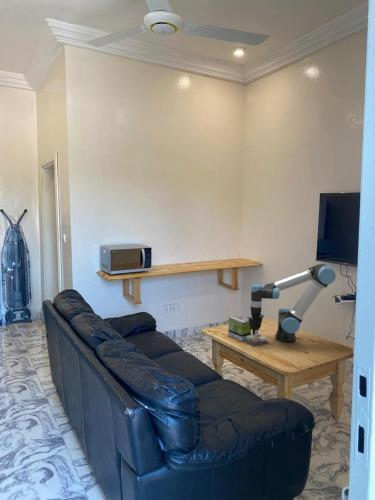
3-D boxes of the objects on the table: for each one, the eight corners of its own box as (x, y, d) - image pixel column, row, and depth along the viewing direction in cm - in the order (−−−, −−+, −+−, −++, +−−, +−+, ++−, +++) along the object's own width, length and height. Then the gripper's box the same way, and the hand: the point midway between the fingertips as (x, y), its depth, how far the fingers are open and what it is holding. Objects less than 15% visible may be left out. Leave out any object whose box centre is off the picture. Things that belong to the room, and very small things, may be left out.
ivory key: (261, 341, 283) (261, 336, 282) (265, 343, 279) (265, 338, 279) (257, 342, 281) (257, 337, 280) (261, 344, 277) (261, 339, 277)
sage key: (250, 340, 285) (250, 335, 284) (254, 342, 281) (254, 337, 280) (245, 341, 282) (245, 336, 282) (249, 343, 279) (249, 338, 278)
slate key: (256, 337, 288) (256, 332, 287) (260, 339, 284) (260, 334, 283) (252, 338, 285) (252, 333, 285) (256, 340, 282) (256, 335, 281)
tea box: (227, 336, 294) (228, 317, 293) (237, 333, 300) (237, 315, 298) (241, 341, 282) (242, 322, 281) (251, 339, 288) (252, 319, 287)
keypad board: (257, 338, 289) (257, 336, 289) (268, 343, 279) (268, 340, 279) (243, 341, 283) (243, 338, 282) (254, 346, 272) (254, 344, 272)
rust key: (255, 342, 280) (255, 337, 279) (259, 344, 276) (259, 339, 276) (250, 343, 278) (250, 338, 277) (254, 345, 274) (254, 340, 273)
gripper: (259, 304, 280) (258, 335, 283) (245, 306, 274) (244, 338, 276) (266, 306, 274) (265, 338, 277) (252, 308, 267) (251, 341, 270)
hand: (254, 338), depth 276 cm, fingers closed
